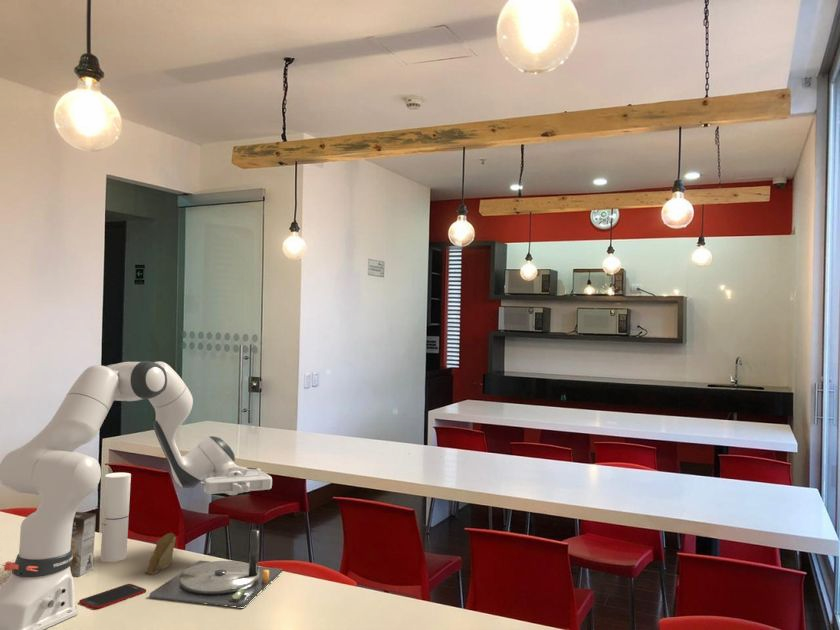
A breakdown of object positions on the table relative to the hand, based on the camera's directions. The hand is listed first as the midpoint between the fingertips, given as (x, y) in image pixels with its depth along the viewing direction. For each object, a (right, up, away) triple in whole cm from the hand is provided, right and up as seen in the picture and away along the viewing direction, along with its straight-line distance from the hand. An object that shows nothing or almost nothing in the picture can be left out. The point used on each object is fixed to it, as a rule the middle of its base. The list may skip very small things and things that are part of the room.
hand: (244, 489), depth 194 cm
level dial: (-3, -21, -13) cm, 25 cm away
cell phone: (-27, -22, -25) cm, 43 cm away
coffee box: (-47, -22, -8) cm, 52 cm away
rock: (-25, -23, -3) cm, 34 cm away
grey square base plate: (-3, -23, -13) cm, 27 cm away
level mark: (+9, -22, -13) cm, 27 cm away
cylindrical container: (-41, -22, +4) cm, 47 cm away
